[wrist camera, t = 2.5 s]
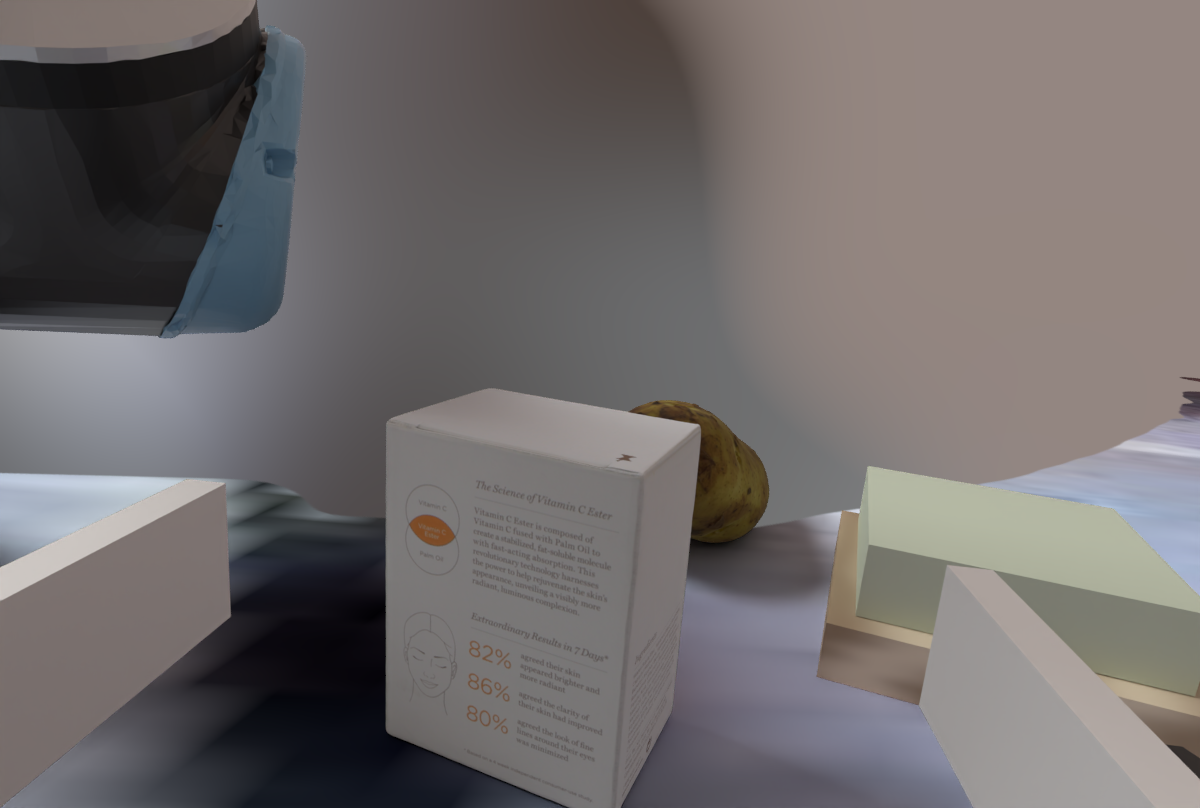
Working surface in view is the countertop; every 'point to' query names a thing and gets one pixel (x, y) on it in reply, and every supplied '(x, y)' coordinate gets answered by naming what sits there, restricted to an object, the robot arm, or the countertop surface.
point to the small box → (536, 587)
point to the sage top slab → (1030, 571)
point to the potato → (719, 475)
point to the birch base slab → (901, 654)
